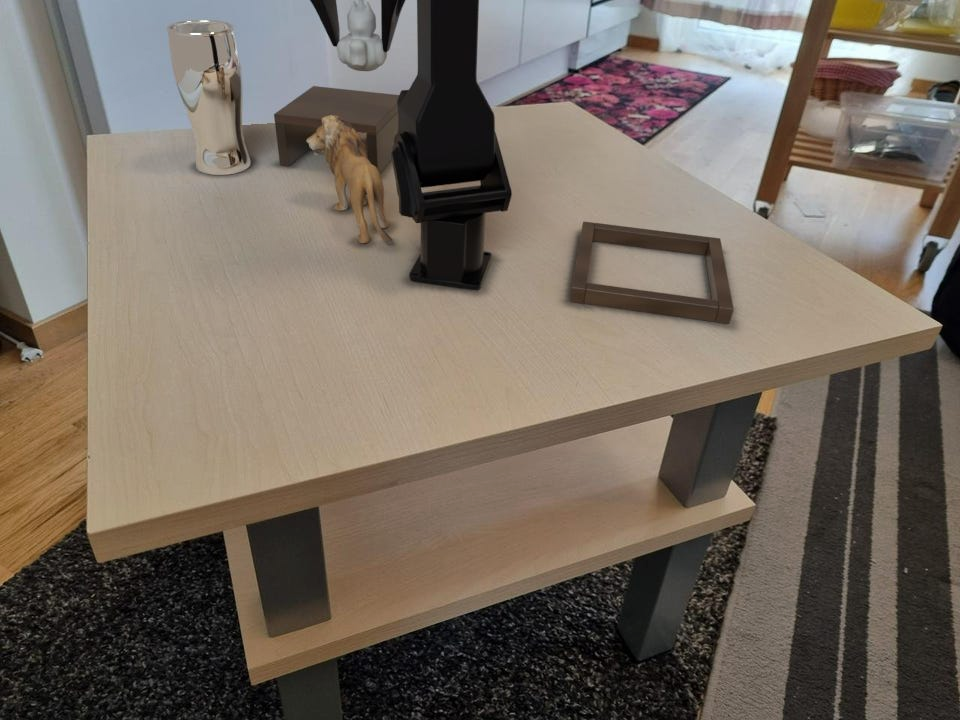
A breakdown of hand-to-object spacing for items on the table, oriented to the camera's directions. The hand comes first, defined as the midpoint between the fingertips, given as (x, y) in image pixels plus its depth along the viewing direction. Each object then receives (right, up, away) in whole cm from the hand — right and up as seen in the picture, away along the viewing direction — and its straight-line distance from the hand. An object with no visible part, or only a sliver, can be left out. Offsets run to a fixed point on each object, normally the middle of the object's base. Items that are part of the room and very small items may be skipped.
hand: (361, 48), depth 79 cm
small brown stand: (-3, -9, +9) cm, 13 cm away
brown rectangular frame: (+29, -27, -12) cm, 41 cm away
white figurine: (0, -2, +2) cm, 3 cm away
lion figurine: (0, -20, -5) cm, 21 cm away
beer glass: (-17, -12, +4) cm, 21 cm away
